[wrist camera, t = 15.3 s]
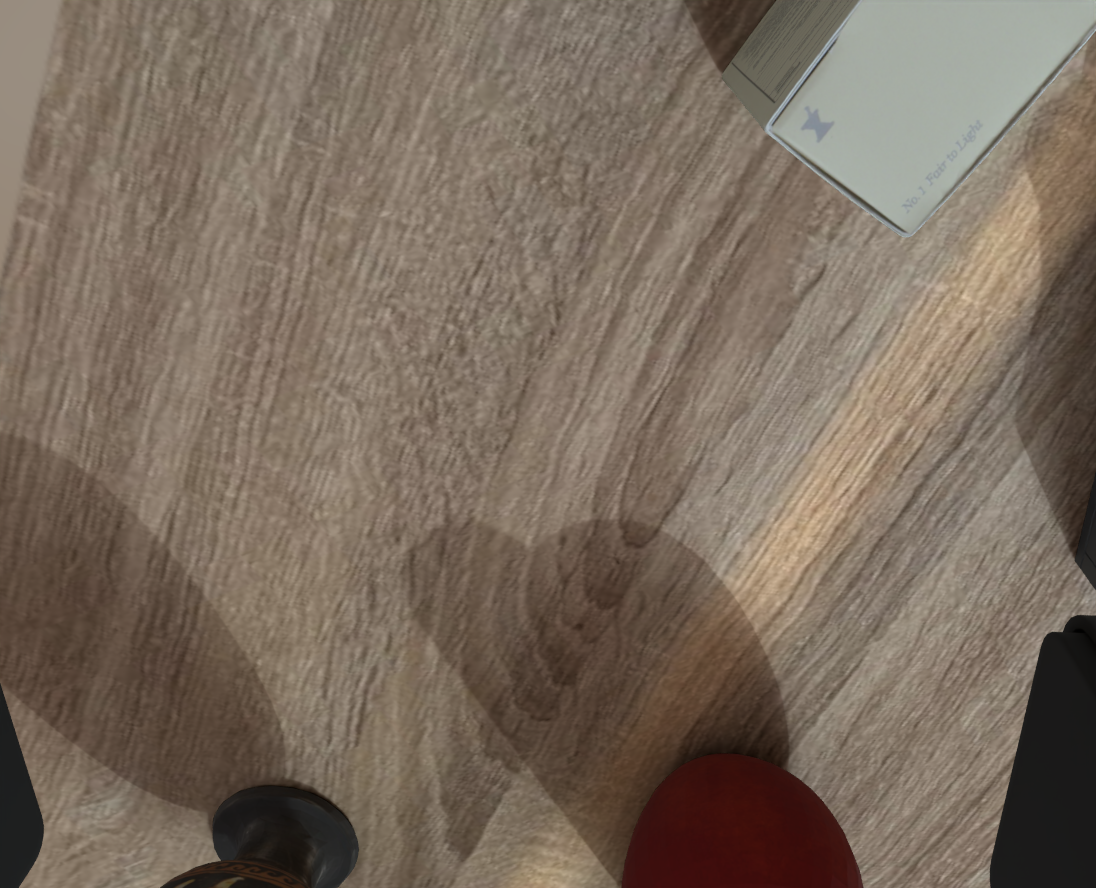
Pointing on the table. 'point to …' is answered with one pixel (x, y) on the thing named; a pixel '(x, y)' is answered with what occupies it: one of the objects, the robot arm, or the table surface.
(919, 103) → the cosmetic box
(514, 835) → the table surface
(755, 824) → the apple
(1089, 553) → the holder
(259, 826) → the vase
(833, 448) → the table surface
